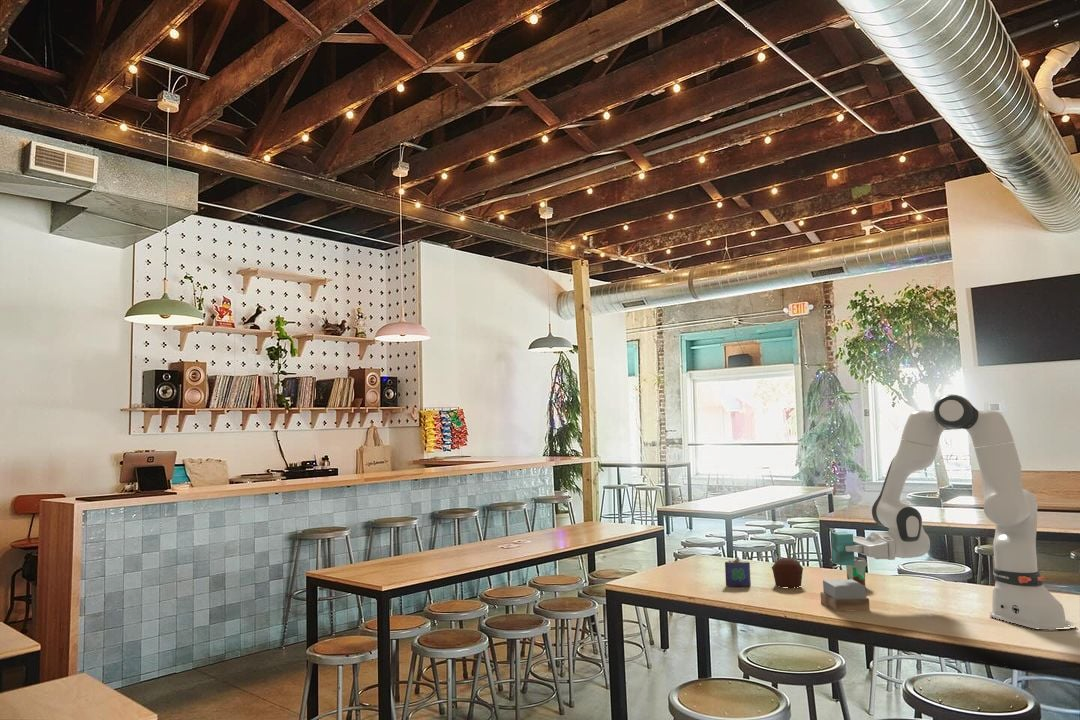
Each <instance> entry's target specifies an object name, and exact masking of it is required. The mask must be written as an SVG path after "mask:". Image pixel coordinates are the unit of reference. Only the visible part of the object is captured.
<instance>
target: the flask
mask: <svg viewBox="0 0 1080 720" xmlns="http://www.w3.org/2000/svg"><path fill="white" fill-rule="evenodd" d="M724 567H725V568H724V569H725V570H724V571H725V572H724V573H725V586H728V587H727V588H739V587H740V588H742V587H741V586H750V587H751V585H752V583H751V565H750V561H741V560H740V556H739V557H737V556H735V559H734V560H730V559H729V560H728V561H725V562H724Z"/></svg>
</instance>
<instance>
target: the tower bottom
mask: <svg viewBox="0 0 1080 720" xmlns="http://www.w3.org/2000/svg"><path fill="white" fill-rule="evenodd" d="M820 603H821V604H822V605H824V606H826V607H827V608H829V609H832V610H833V611H835V612H850V611H849V610H858V611H870V609H871V608H870V599H869V598H868V597H866V599H834V598H832V597H831V596H829V595H827V594H826V593H824V591H820ZM846 610H848V611H846Z"/></svg>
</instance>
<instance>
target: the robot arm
mask: <svg viewBox="0 0 1080 720" xmlns="http://www.w3.org/2000/svg"><path fill="white" fill-rule="evenodd" d="M949 430H965V431H967V432H968V433H969V436H970V438H971V440H972V444H973V447H974V451H975V455H976V459H977V463H978V467H979V471H980V476H981V477H980V478H981V487H982V496H983V513H984V515H985V516H986V518H987V519H988V520H989V521H991V522H992V523H994V524H995V530H994V531H995V532H994V538H993V543H992V545H993V557H994V558H993V559H994V567H993V572H992V573H993V580H995V584H994V587H993V588H992V601H991V602H992V606H991V607H992V609H991V610H992V611H991V612H990V613H989V618H992V617H993V618H992V619H995V618H996V620H999V619H1000V620H999V621H1002V620H1004V621H1003V622H1006V621H1007V622H1006V623H1009V622H1011V623H1010V624H1012V623H1016V624H1019V625H1023V626H1027V627H1031V628H1039V629H1056V628H1064V627H1070V626H1071V625H1072V626H1073V625H1074V624H1075V623H1074V622H1073V621H1070V620H1068V619H1066V614H1065V610H1064V609H1065V608H1064V607H1063V603H1061V602H1060V601H1059V600H1058V599H1057V598H1056V597H1055V596H1054V595H1053V594H1052V593H1051V592H1050V591H1049V590H1048V589H1047V588H1046V587H1045V585H1044V581H1046V579H1045V578H1046V577H1045V576H1041V573H1040V571H1039V569H1038V561H1037V546H1036V545H1037V542H1036V541H1037V529H1038V507H1039V504H1038V500H1037V498H1036V496H1035V495H1034V494H1033V493H1032V492H1030V491H1028V490H1027V489H1024V488H1023V482H1022V481H1023V480H1022V465H1021V464H1022V463H1021V461H1020V459H1019V454H1018V450H1017V448H1016V444H1015V442H1014V441H1015V440H1014V437H1013V434H1012V431H1011V429H1010V427H1009V425H1008V422H1007V421H1006V419H1005V417H1004V415H1003V414H1002V413H1001V412H999V411H997V410H991V409H990V410H989V409H988V410H986V409H985V410H978V409H977V408H976V407H975V406H973V404H972V403H971V401H970V400H968V399H967V398H966V397H964V396H962V395H958V394H946V395H943V396H941V397H939V399H938V400H936V402H935V404H934V407H933V409H932V410H922V409H921V410H916V411H913V412H911V413H910V414H909V416H908V418H907V420H906V422H905V425H904V427H903V431H902V434H901V438H900V444H899V445H898V449H897V452H896V454H895V456H894V457H893V459H892V460H891V461H890V465H889V467H888V469H887V473H886V475H885V479H884V482H883V484H882V487H881V491H880V494H879V495H878V497H877V499H876V500H875V502H874V503H873V505H872V508H871V515H872V519H873V520H874V522H875V523H876V524H877V525H879V526H881V527H884V528H887V529H888V530H887V531H872V532H871V533H870V534H869V535H868V536H867V537H863V536H855V535H853V543H854V546H850V545H845V546H844V550H845V551H847V552H854V553H857V554H859V555H860V554H861V555H864V556H865V557H866V556H867V557H870V558H873V559H875V560H889V561H895V560H896V558H900V559H912V558H918V557H922V556H925V555H926V554H928V552H929V550H930V547H931V540H930V537H929V535H928V534H927V532H925V529H924V526H923V518H922V514H921V513H920V511H919V510H918V509H916V508H915V507H912V506H910V505H908V504H905V503H902V502H901V500H900V499H901V496H902V493H903V491H904V487H905V484H906V481H907V478H909V476H911V474H913V473H916V472H918V471H919V472H920V471H923V470H925V469H927V468H930V466H932V464H933V463H934V461H935V459H936V456H937V452H938V447H939V442H940V438H941V435H942V433H943V432H944V431H949ZM1016 624H1015V625H1016ZM1019 625H1018V626H1019ZM1068 625H1070V626H1068ZM1023 626H1022V627H1023Z"/></svg>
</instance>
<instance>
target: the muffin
mask: <svg viewBox="0 0 1080 720" xmlns="http://www.w3.org/2000/svg"><path fill="white" fill-rule="evenodd" d="M771 570H772V573H773V579H774V583H775V586H776V585H777V586H780V587H788V588H794V587H795V588H796V589H798V588H797V587H799V586H801V587H802V581H803V580H802V579H803V573H804V572H803V571H804V568H803V566H802V565H801V563H800V562H799V561H797V560H796V559H794V558H792V557H782V558H779V559H778V560H776V561H775V562H774V563H773V565H772V566H771ZM777 586H776V587H777ZM780 587H779V588H780Z"/></svg>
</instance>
